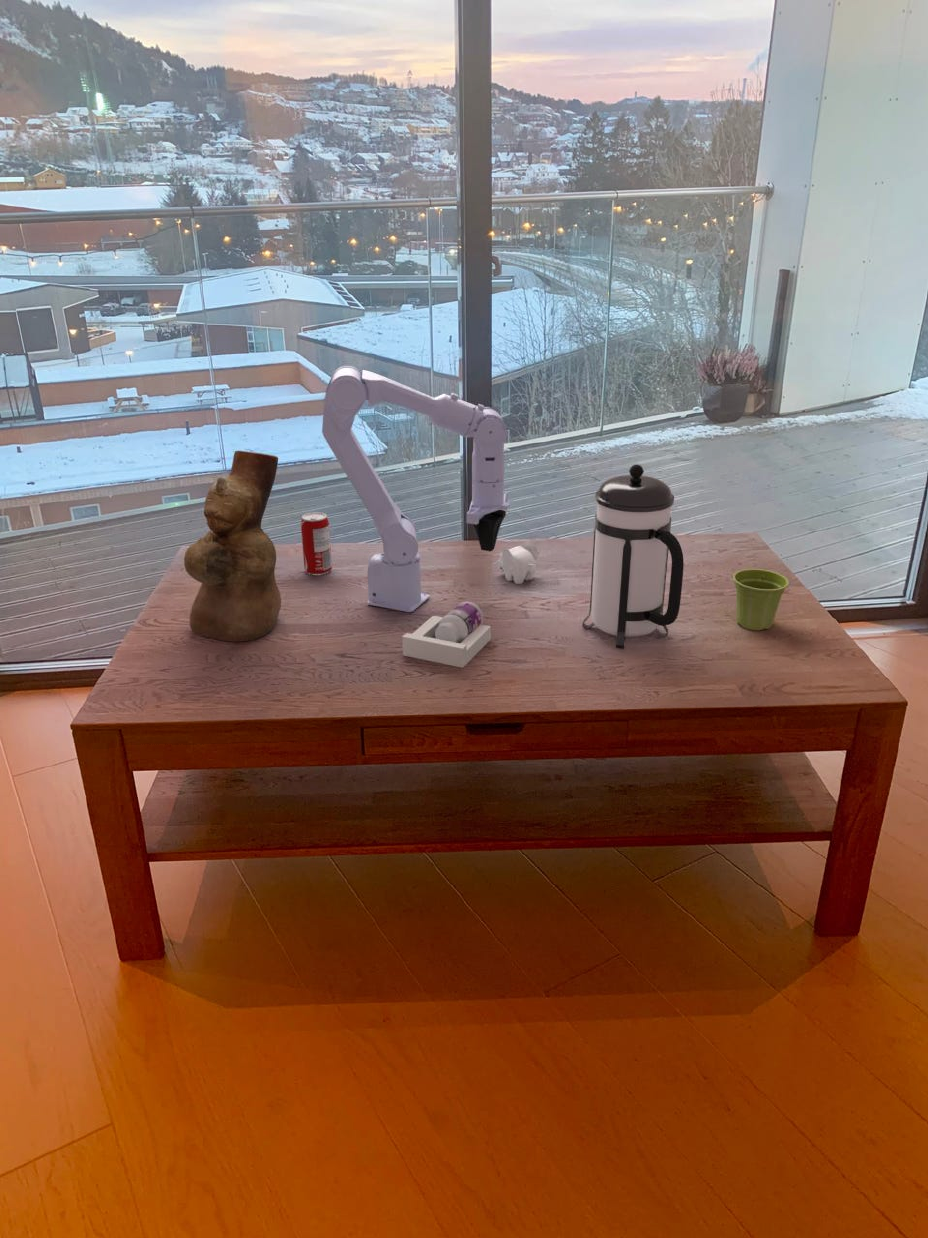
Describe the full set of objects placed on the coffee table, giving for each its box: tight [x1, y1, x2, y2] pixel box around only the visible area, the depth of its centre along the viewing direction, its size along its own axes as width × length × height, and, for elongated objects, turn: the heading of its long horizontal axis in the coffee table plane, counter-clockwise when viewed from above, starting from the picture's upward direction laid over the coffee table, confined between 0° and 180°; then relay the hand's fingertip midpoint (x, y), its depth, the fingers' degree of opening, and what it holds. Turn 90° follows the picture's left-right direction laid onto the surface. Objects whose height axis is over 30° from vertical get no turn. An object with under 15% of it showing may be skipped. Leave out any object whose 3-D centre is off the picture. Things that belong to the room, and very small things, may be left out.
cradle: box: [401, 615, 492, 669], centre depth 160 cm, size 11×12×4 cm
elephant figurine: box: [492, 540, 540, 585], centre depth 187 cm, size 8×10×7 cm
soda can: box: [300, 511, 333, 576], centre depth 190 cm, size 6×6×12 cm
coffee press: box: [582, 464, 685, 650], centre depth 159 cm, size 17×16×30 cm
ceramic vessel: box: [183, 450, 282, 643], centre depth 165 cm, size 16×22×30 cm
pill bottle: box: [435, 601, 484, 643], centre depth 161 cm, size 5×5×10 cm
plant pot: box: [732, 568, 790, 631], centre depth 167 cm, size 9×9×9 cm
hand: (487, 549), depth 175 cm, fingers closed
